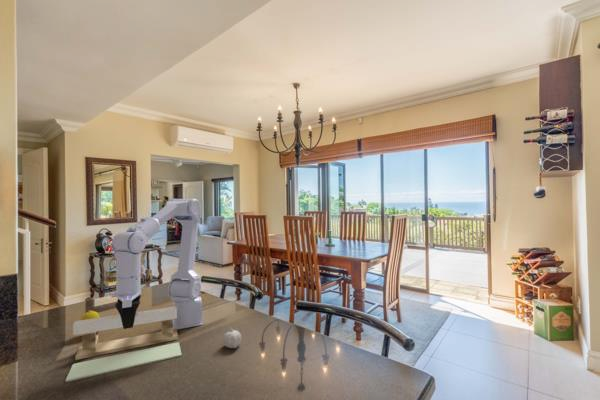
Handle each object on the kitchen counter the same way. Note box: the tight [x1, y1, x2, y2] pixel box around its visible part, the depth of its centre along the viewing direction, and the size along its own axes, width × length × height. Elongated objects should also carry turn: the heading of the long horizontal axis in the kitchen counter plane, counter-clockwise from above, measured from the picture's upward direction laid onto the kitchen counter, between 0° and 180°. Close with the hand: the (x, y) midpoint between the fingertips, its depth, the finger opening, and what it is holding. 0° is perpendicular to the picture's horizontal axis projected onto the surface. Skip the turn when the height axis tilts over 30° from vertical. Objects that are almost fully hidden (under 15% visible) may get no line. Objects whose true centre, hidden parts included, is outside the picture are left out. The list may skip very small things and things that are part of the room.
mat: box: [64, 341, 182, 383], centre depth 80 cm, size 26×8×1 cm, turn 117°
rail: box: [72, 306, 177, 336], centre depth 80 cm, size 24×3×3 cm, turn 117°
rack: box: [75, 319, 179, 361], centre depth 89 cm, size 26×6×6 cm, turn 117°
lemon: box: [79, 309, 101, 321], centre depth 95 cm, size 6×6×8 cm
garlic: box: [222, 327, 242, 349], centre depth 88 cm, size 6×5×5 cm
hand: (128, 325), depth 80 cm, fingers closed on rail, 3 cm apart
